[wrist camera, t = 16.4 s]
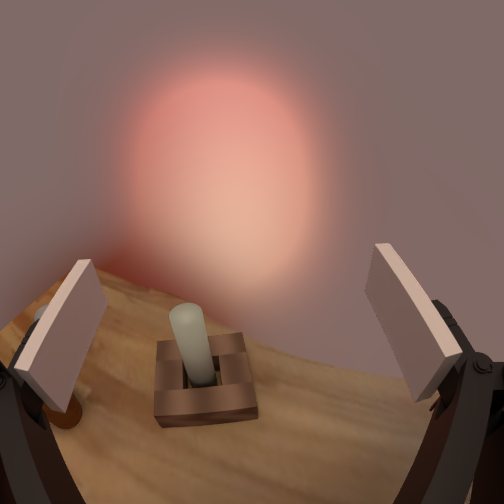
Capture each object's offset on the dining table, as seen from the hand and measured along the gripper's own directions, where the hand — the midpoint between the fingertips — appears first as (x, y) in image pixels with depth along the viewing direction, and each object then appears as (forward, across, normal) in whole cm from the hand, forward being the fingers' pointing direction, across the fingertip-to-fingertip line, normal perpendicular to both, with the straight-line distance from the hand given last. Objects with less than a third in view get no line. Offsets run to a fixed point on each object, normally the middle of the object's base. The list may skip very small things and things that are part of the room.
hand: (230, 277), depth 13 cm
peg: (+15, -7, -32) cm, 36 cm away
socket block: (+15, -7, -32) cm, 36 cm away
